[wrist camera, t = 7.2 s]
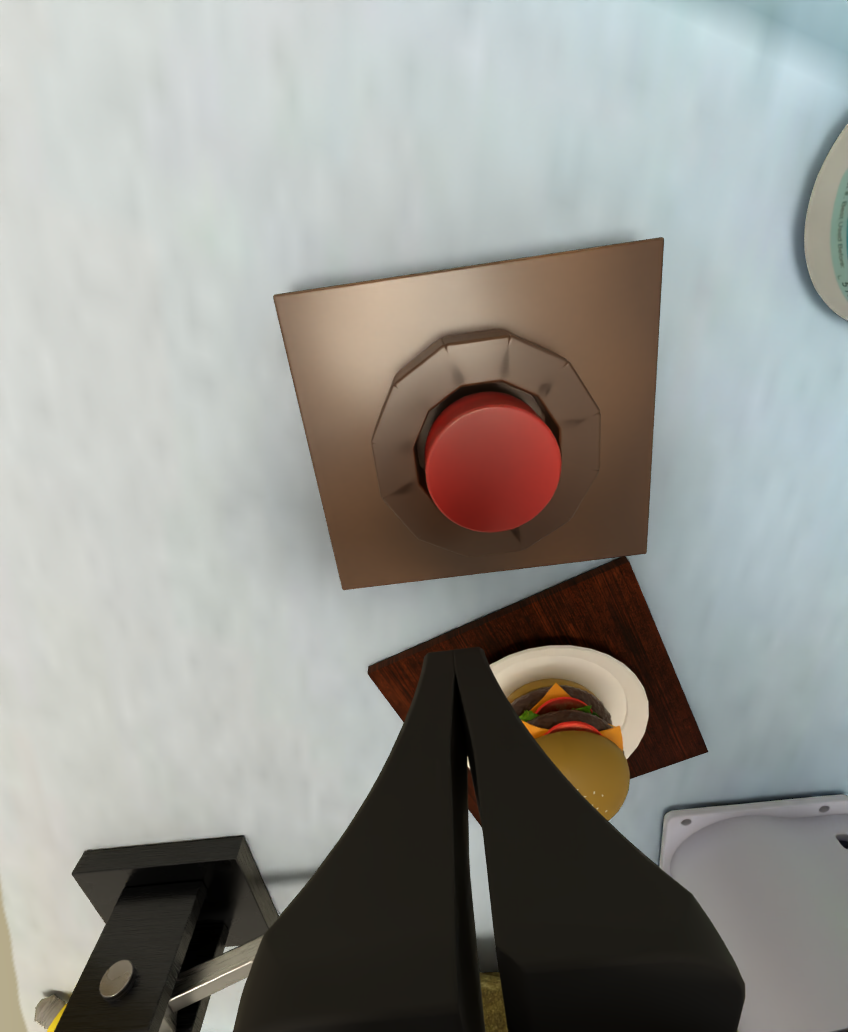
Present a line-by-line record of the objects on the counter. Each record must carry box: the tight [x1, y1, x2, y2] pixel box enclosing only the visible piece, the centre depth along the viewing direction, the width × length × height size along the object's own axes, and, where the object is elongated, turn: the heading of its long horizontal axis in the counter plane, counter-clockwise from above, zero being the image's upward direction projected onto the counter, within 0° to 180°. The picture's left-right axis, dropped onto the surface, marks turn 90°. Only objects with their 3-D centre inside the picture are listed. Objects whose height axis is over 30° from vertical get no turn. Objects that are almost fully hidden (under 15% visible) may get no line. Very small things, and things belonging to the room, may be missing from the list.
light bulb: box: [35, 994, 67, 1032], centre depth 34 cm, size 3×6×4 cm
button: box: [425, 391, 561, 533], centre depth 14 cm, size 4×4×2 cm
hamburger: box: [368, 556, 708, 827], centre depth 22 cm, size 12×12×6 cm
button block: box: [273, 237, 664, 590], centre depth 16 cm, size 11×10×4 cm
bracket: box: [54, 836, 278, 1032], centre depth 26 cm, size 9×8×7 cm
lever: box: [159, 935, 263, 1032], centre depth 26 cm, size 13×3×3 cm, turn 98°
